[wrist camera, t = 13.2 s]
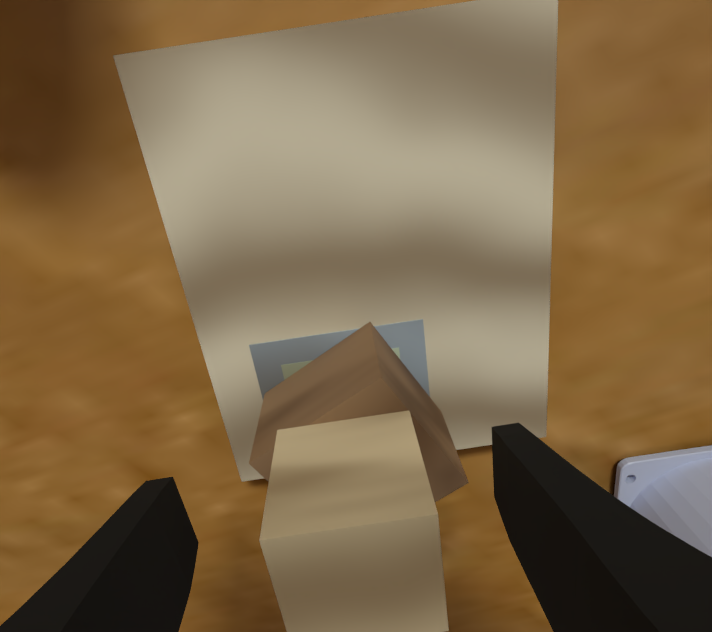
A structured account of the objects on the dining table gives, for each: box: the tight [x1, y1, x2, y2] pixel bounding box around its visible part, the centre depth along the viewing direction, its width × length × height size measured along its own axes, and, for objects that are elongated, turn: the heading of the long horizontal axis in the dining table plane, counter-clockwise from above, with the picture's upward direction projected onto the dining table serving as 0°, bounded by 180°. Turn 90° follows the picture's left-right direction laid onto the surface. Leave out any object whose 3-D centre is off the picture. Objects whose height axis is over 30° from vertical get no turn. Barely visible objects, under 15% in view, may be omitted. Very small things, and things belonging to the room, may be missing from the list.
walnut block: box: [249, 322, 469, 502], centre depth 17 cm, size 5×5×4 cm
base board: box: [113, 0, 558, 481], centre depth 17 cm, size 16×13×2 cm
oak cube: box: [259, 410, 449, 632], centre depth 13 cm, size 4×4×4 cm
